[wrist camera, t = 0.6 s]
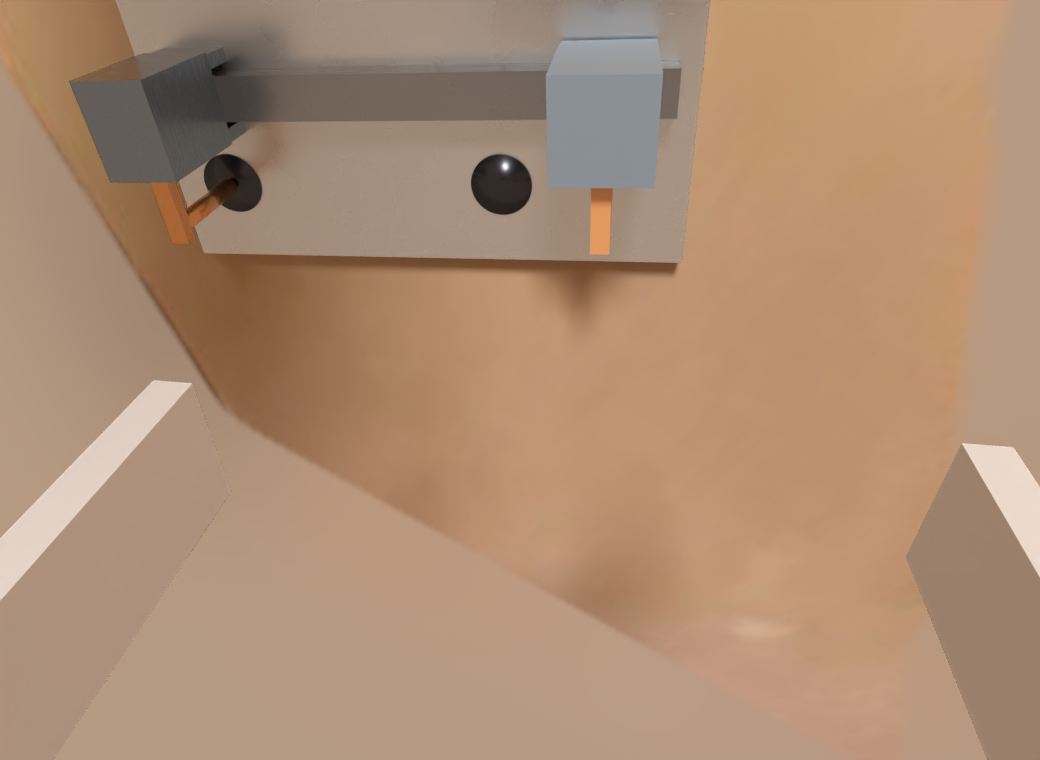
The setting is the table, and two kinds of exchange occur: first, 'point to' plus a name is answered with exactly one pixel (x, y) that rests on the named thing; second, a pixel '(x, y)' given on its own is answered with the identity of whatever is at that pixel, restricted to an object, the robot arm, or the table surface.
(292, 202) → the bolt plate
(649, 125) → the slider
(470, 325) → the table surface
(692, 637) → the table surface
